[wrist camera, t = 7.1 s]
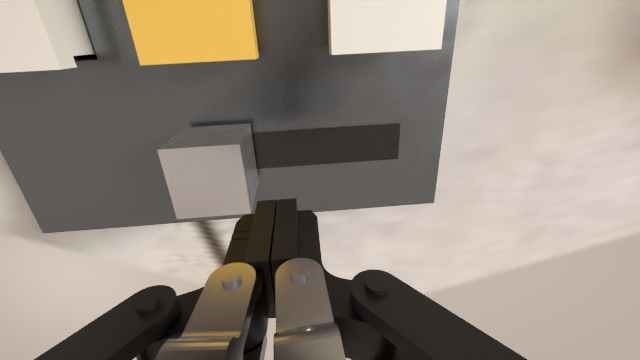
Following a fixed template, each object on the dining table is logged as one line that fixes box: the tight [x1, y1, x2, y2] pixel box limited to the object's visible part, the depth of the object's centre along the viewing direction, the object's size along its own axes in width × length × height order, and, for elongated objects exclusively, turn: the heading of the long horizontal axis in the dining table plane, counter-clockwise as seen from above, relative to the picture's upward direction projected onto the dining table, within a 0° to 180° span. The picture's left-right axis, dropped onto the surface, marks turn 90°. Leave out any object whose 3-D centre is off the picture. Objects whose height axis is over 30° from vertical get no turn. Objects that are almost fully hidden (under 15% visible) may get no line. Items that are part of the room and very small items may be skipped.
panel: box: [0, 0, 460, 233], centre depth 20 cm, size 18×28×4 cm, turn 93°
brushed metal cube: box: [157, 123, 259, 219], centre depth 18 cm, size 4×4×4 cm
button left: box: [0, 0, 96, 73], centre depth 16 cm, size 5×5×6 cm
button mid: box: [122, 0, 259, 65], centre depth 16 cm, size 5×5×6 cm
